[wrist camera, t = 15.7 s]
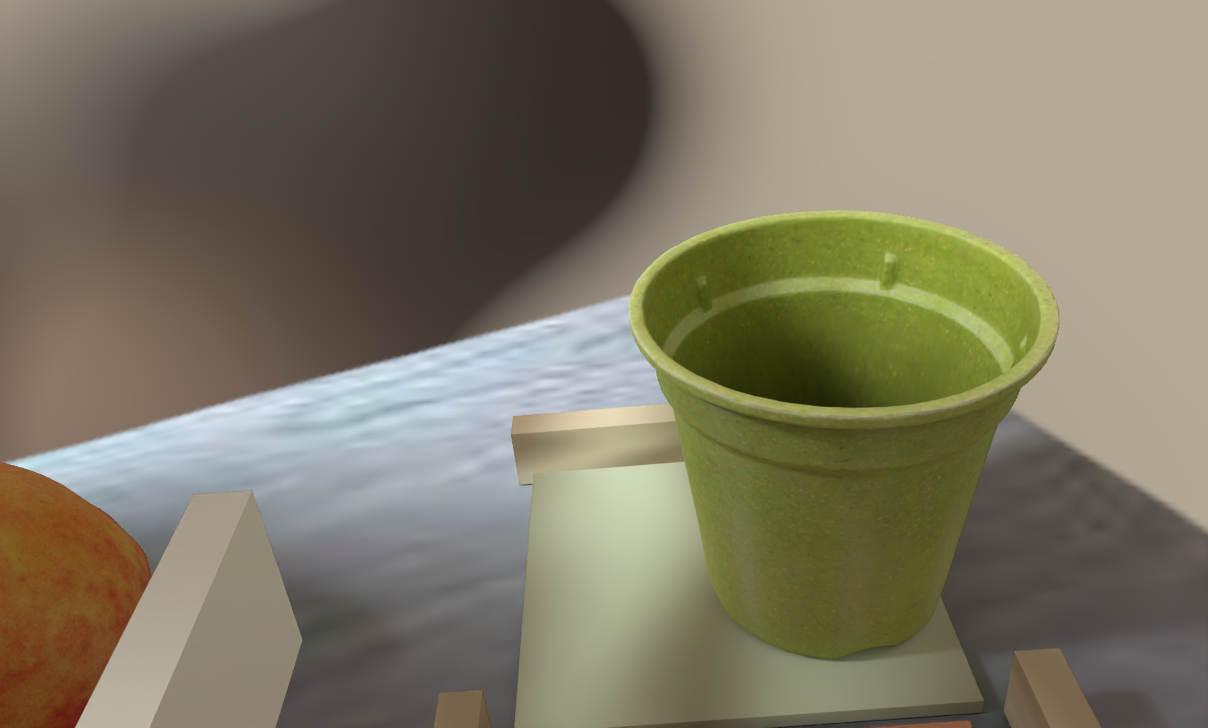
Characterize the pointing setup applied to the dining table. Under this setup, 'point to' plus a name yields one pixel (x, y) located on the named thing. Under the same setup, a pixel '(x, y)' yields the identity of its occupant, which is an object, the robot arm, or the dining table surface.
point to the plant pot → (837, 408)
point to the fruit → (59, 598)
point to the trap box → (695, 612)
